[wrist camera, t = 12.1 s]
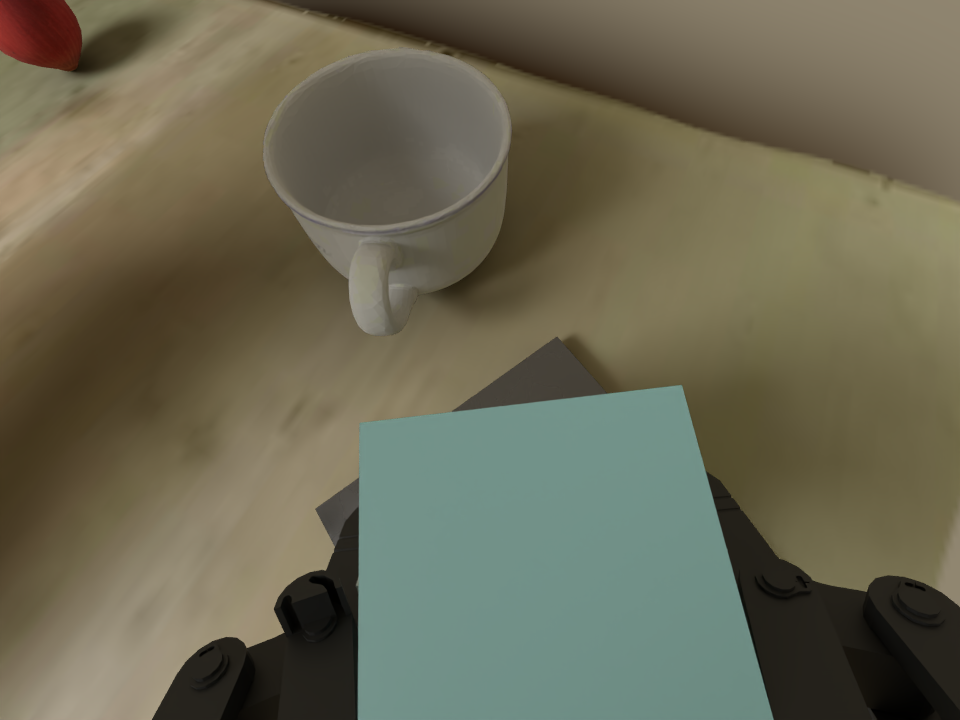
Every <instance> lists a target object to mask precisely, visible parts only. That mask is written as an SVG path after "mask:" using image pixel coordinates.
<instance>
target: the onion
mask: <svg viewBox="0 0 960 720" xmlns="http://www.w3.org/2000/svg"><path fill="white" fill-rule="evenodd" d="M81 48H82V34H81V29H80V26H79V24H78V21H77V18H76V16H75V15H74V13H73V12H72V10H71V9H70V7H69V6H68V5H67V3H66V2H65V1H64V0H0V50H1V51H2V52H3V53H4V54H6V55H8V56H11V57H13V58H15V59H17V60H19V61H21V62H24V63H28V64H32V65H36V66H40V67H47V68H54V69H60V70H64V71H73V70H75V69H77V67H78V62H79V59H80V55H81Z"/></svg>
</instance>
